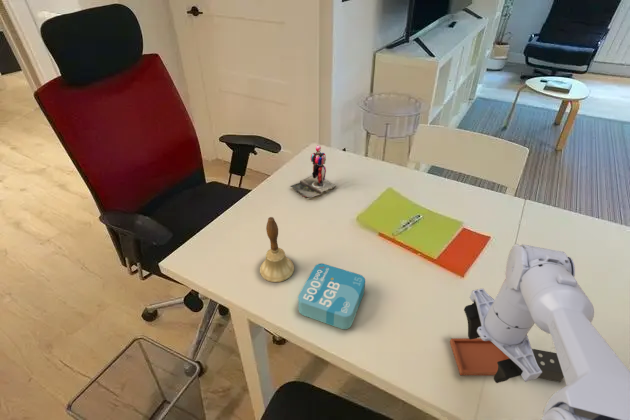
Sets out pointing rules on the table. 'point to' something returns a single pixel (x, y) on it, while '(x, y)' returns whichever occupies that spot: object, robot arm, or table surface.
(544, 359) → the remote
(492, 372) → the dish
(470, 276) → the table surface
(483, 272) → the table surface
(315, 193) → the statue
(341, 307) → the data package
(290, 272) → the hand bell
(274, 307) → the table surface
